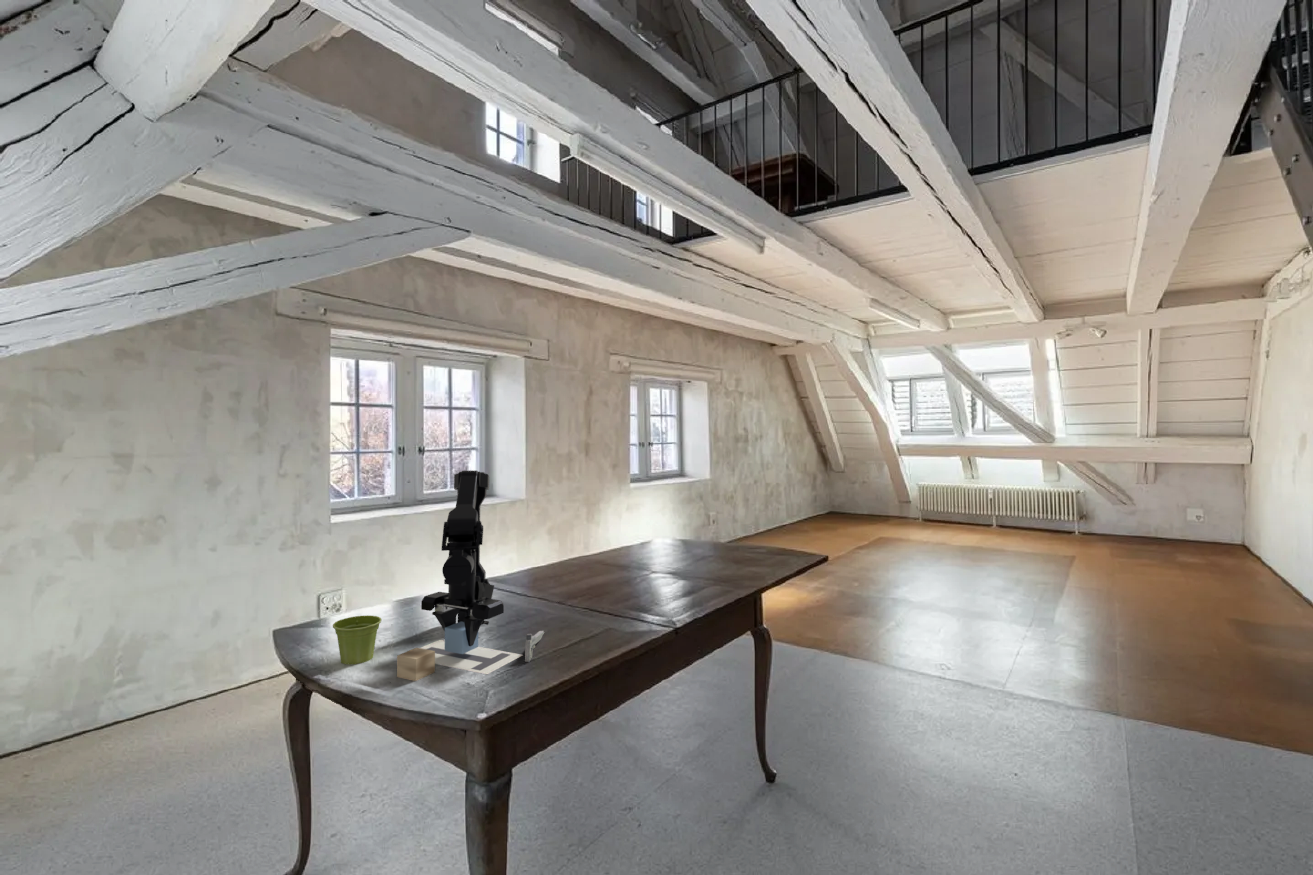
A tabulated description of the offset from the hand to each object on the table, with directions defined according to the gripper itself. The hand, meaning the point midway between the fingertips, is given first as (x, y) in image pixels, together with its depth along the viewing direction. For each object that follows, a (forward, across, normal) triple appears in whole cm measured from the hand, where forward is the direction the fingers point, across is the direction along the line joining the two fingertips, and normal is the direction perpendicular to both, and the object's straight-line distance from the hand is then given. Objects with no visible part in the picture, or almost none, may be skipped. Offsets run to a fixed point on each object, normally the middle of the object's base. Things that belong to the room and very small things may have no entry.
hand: (461, 644), depth 130 cm
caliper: (+4, -11, -12) cm, 17 cm away
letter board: (+3, 0, 0) cm, 3 cm away
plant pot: (+3, +19, +11) cm, 22 cm away
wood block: (+3, +1, +12) cm, 12 cm away
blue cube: (+1, 0, 0) cm, 1 cm away
